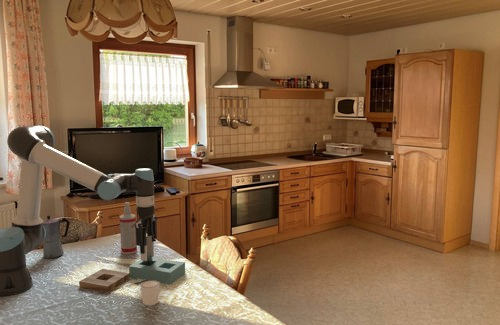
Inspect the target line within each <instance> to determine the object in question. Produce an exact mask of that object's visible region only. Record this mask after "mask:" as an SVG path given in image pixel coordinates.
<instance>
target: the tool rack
mask: <svg viewBox="0 0 500 325" xmlns="http://www.w3.org/2000/svg"><path fill="white" fill-rule="evenodd" d="M152 262H153V264H152V265H150V266H146V265H143V260H141V259H139V260H137V261H136V262H133V263H132V264H130V265H128V271H129V272H128V273H130V279H136V280H141V281H150V280H154V281H158V282H159V284H168V285H172V284H173V283H174V282H176V281H177V280H178V279H180V278H182V277H183V276H184V275H185V274H186V262H185V261H179V260H178V261H177V260H172V259H165V258H157V257H152Z"/></svg>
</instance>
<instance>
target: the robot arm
mask: <svg viewBox="0 0 500 325" xmlns="http://www.w3.org/2000/svg"><path fill="white" fill-rule="evenodd" d="M55 143H56V138H55V135H54V132H53V131H52V130H51V129H50V128H48V127H47V126H44V125H38V124H37V125H36V124H33V125H27V126H23V125H22V126H19V127H16V128H14V129H12V130H11V131H10V133H9V134H8V136H7V140H6V144H7V147H8V149H9V151H11V153H13V155H15V156H17V158H18V159H19V160H20V161H21V163H20V174H19V175H20V176H19V184H18V196H17V208H16V216H15V217H14V218H13V219H12V220H11V227H4V228H3V229H0V297H8V296H13V295H17V294H21V293H24V292H25V291H27V290H30V289H31V288H32V287H33V284H34V283H33V278H32V276H31V274H30V271H29V269H28V268H27V258H26V255H27V254H29V253H31V252H32V251H34V250H36V249H37V248H39V247H40V245H42V244H43V243H44V239H45V236H46V230H45V227H44V226H43V220H44V219H43V218H41V217H40V213H41V203H42V202H41V201H42V194H43V193H42V190H43V183H44V182H43V181H44V172H45V170H44V169H45V168H47V169H48V170H51V171H53V172H55V173H57V174H59V175H61V176H63V177H65V178H66V179H69V180H71V181H73V182H74V183H77V184H78V185H82V186H84V187H85V188H88V189H89V190H91V191H94V192H95V193H97V194H98V196H99V198H100V199H102V200H104V201H111V200H114V199H115V198H116V199H117V197H118V198H119V196H120V195H121V194H122V193H125V192H132V193H133V192H135V201H136V202H135V204H136V214H137V216H138V222H136V223H135V224H134V225H135V229H136V245H137V247H139V253H140V260H144V261H147V245H145V243H146V234H150V235H152V258H155V242H156V241H157V238H158V233H157V232H158V231H157V229H158V228H157V225H158V224H157V220H158V216H156V215H155V213H156V207H155V178H154V170H153V169H152V168H149V167H148V168H137V169H135V171H134V173H109V174H105V173H103V172H101V171H99V170H97V169H95V168H93V167H91V166H89V165H87V164H85V163H83V162H81V161H80V160H77V159H75V158H73V157H71V156H69V155H67V154H65V153H63V152H61V151H60V150H57V149H55V148H54V146H55Z"/></svg>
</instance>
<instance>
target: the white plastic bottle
mask: <svg viewBox="0 0 500 325" xmlns="http://www.w3.org/2000/svg"><path fill="white" fill-rule="evenodd" d="M130 205H131V204H130V202H129V201H126V202H124V209H123V214H121V215H119V229H120V230H119V231H120V249H121V250H120V252H121V254H122V253H123V255H131V254H135V253H137V252H138V246H137V245H136V229H135V225H134V224H135V223H137V222H136V221H137V219H136V217H137V216H136V214H133V213H132V211H131V206H130Z"/></svg>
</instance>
